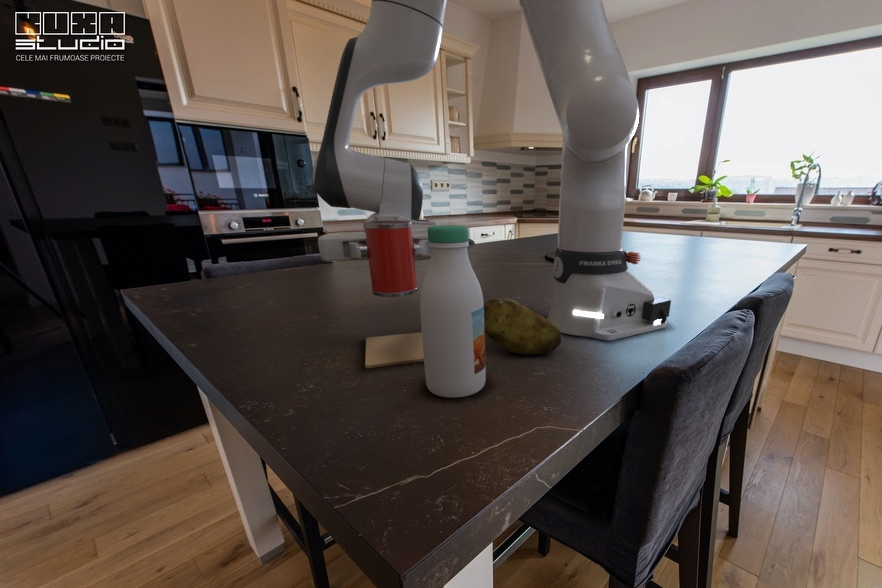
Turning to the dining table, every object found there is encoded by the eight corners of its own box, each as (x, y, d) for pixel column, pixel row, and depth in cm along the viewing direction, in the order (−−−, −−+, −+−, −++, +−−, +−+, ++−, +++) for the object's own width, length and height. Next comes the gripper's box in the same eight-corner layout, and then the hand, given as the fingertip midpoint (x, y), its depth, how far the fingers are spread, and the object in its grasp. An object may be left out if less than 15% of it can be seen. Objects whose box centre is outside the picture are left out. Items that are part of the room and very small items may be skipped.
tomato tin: (415, 285, 63) (409, 220, 59) (419, 295, 57) (413, 223, 54) (372, 288, 61) (363, 221, 57) (372, 298, 55) (363, 224, 52)
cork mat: (437, 332, 70) (437, 330, 70) (449, 358, 60) (449, 355, 60) (366, 340, 67) (366, 337, 67) (365, 368, 56) (365, 365, 56)
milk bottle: (460, 405, 46) (452, 230, 39) (413, 389, 50) (397, 226, 43) (497, 380, 53) (495, 225, 45) (452, 367, 56) (444, 222, 49)
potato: (537, 368, 56) (539, 314, 53) (470, 348, 63) (468, 300, 61) (566, 350, 63) (568, 301, 60) (501, 334, 70) (501, 290, 67)
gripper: (319, 222, 64) (307, 231, 52) (444, 220, 70) (460, 227, 58) (325, 261, 67) (315, 278, 54) (446, 256, 73) (461, 269, 60)
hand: (391, 251), depth 56 cm, fingers closed on tomato tin, 6 cm apart
